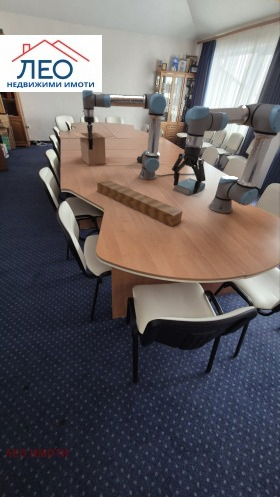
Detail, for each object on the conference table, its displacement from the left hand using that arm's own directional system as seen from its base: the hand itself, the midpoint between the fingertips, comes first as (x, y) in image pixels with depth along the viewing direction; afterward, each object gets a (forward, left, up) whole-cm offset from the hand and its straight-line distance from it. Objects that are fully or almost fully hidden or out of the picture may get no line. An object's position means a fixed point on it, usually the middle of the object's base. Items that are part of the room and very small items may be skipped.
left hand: (91, 147), depth 173 cm
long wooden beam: (-32, +45, -27) cm, 61 cm away
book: (-81, +14, -27) cm, 86 cm away
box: (+4, -61, -27) cm, 67 cm away
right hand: (-54, +80, -1) cm, 97 cm away
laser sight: (-54, -60, -27) cm, 85 cm away
